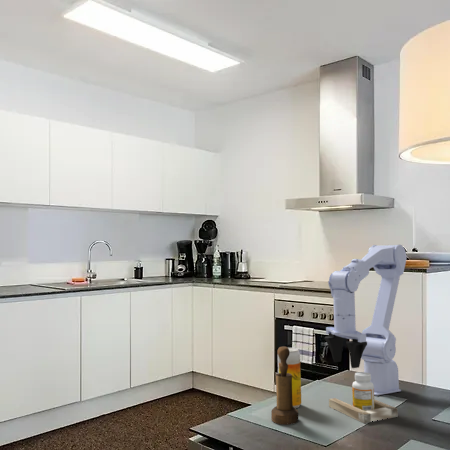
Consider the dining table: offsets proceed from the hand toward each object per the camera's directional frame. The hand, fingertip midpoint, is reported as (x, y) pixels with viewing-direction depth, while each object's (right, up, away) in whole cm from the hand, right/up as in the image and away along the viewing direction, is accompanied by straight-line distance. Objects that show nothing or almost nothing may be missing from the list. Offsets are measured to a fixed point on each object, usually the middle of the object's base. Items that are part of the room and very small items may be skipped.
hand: (346, 364), depth 134 cm
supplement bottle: (+3, -10, -8) cm, 13 cm away
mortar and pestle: (-18, -10, -13) cm, 25 cm away
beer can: (-16, -11, -2) cm, 19 cm away
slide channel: (+2, -10, -7) cm, 12 cm away
